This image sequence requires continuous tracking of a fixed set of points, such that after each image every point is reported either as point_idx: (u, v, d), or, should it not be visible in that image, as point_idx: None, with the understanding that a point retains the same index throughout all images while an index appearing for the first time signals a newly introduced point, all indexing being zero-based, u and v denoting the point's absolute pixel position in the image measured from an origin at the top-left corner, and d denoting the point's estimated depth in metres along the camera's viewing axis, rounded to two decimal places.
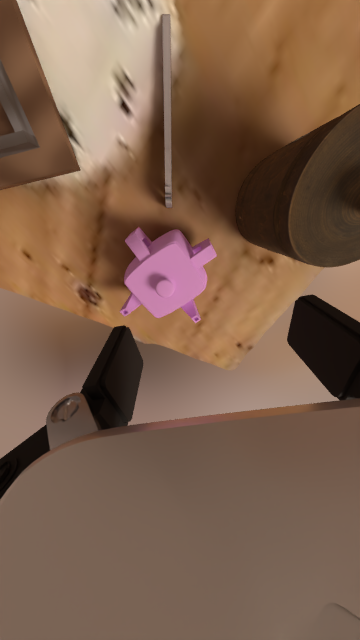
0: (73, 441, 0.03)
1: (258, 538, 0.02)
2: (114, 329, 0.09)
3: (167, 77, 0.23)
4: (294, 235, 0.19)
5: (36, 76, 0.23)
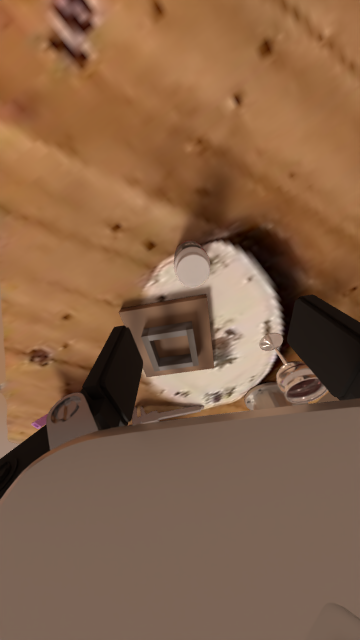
0: (73, 441, 0.03)
1: (258, 538, 0.02)
2: (114, 329, 0.09)
3: (184, 413, 0.48)
4: None
5: (186, 370, 0.39)
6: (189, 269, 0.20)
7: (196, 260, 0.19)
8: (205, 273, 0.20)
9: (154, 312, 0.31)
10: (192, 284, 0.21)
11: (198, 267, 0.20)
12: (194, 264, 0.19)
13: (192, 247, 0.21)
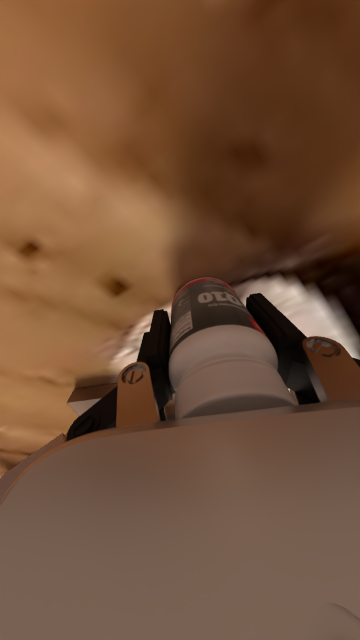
0: (73, 441, 0.03)
1: (258, 538, 0.02)
2: (155, 312, 0.10)
3: None
4: None
5: None
6: None
7: (256, 407, 0.05)
8: None
9: None
10: None
11: None
12: None
13: (229, 329, 0.06)
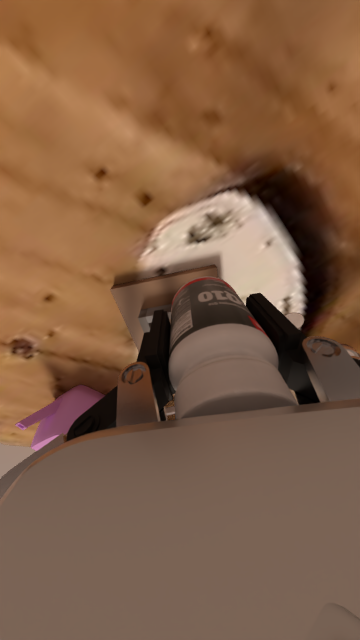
0: (73, 441, 0.03)
1: (258, 538, 0.02)
2: (155, 312, 0.10)
3: None
4: None
5: None
6: None
7: (257, 406, 0.05)
8: None
9: (153, 288, 0.25)
10: None
11: None
12: None
13: (229, 328, 0.06)
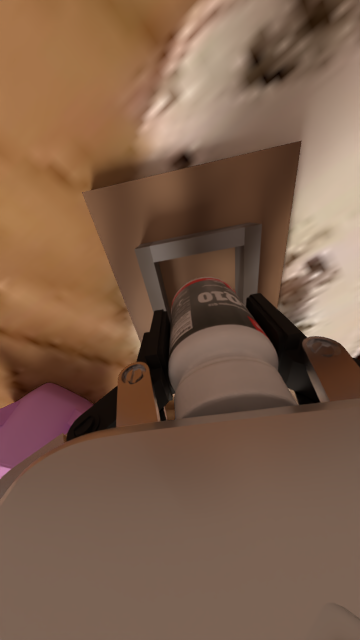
0: (73, 441, 0.03)
1: (258, 538, 0.02)
2: (155, 312, 0.10)
3: None
4: None
5: None
6: None
7: (257, 407, 0.05)
8: None
9: (166, 193, 0.13)
10: None
11: None
12: None
13: (229, 329, 0.06)
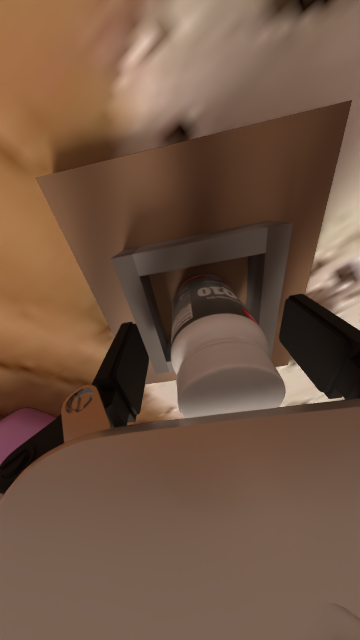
0: (73, 441, 0.03)
1: (258, 538, 0.02)
2: (122, 325, 0.09)
3: None
4: None
5: None
6: (221, 398, 0.06)
7: (247, 380, 0.06)
8: (268, 405, 0.06)
9: (155, 179, 0.09)
10: None
11: (250, 394, 0.06)
12: (238, 388, 0.06)
13: (224, 317, 0.07)
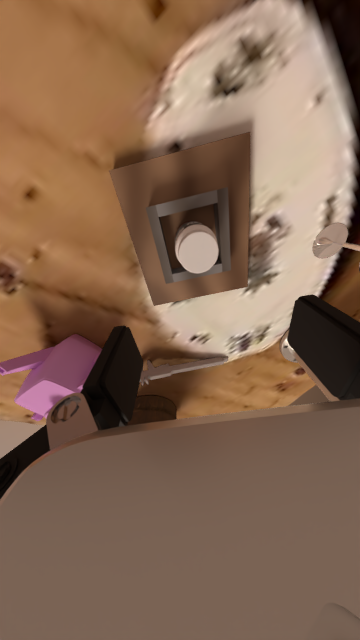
0: (73, 441, 0.03)
1: (258, 538, 0.02)
2: (114, 329, 0.09)
3: (204, 366, 0.37)
4: None
5: (209, 291, 0.28)
6: (194, 250, 0.17)
7: (202, 239, 0.16)
8: (213, 255, 0.17)
9: (165, 169, 0.19)
10: (197, 269, 0.18)
11: (204, 247, 0.16)
12: (200, 244, 0.16)
13: (196, 225, 0.17)
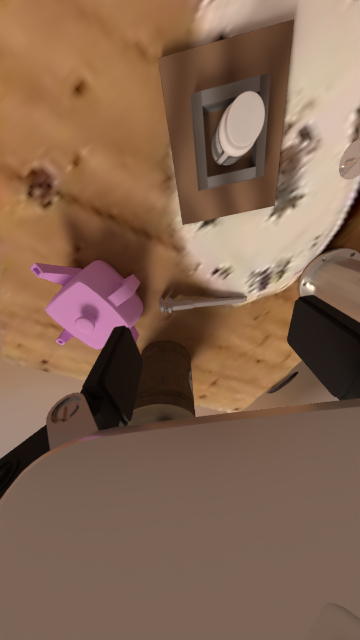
0: (73, 441, 0.03)
1: (258, 538, 0.02)
2: (114, 329, 0.09)
3: (224, 302, 0.38)
4: (140, 409, 0.32)
5: (237, 210, 0.29)
6: (242, 115, 0.18)
7: (251, 100, 0.17)
8: (259, 122, 0.18)
9: (210, 59, 0.21)
10: (242, 140, 0.19)
11: (252, 112, 0.18)
12: (248, 107, 0.17)
13: None
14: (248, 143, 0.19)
